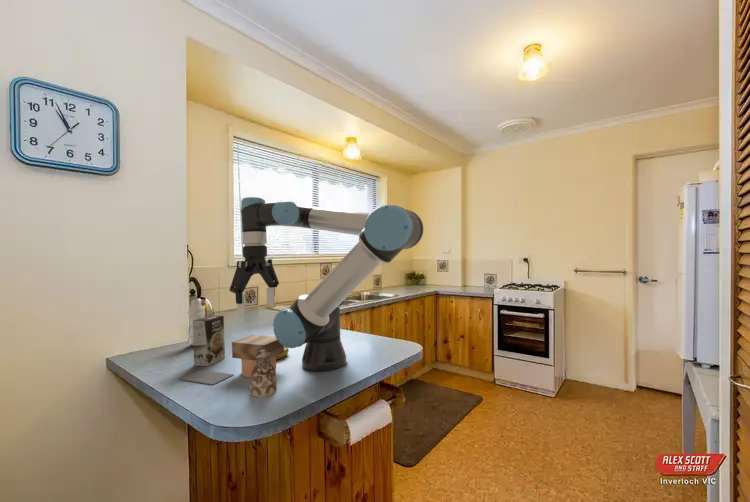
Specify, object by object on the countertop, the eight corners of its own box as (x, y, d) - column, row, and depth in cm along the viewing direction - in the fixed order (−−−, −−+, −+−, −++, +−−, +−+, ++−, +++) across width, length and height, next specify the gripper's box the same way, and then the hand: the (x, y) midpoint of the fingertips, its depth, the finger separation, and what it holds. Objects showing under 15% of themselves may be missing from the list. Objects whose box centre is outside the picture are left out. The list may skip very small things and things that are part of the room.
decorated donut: (250, 358, 124) (250, 347, 124) (279, 350, 132) (278, 340, 132) (264, 364, 116) (264, 353, 116) (294, 356, 124) (293, 345, 124)
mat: (233, 375, 107) (233, 374, 107) (212, 385, 99) (212, 384, 99) (201, 370, 112) (201, 369, 112) (179, 379, 104) (179, 378, 104)
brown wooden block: (284, 352, 111) (283, 337, 111) (264, 361, 102) (264, 345, 102) (253, 349, 116) (252, 334, 116) (232, 357, 107) (231, 342, 107)
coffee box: (209, 366, 116) (207, 320, 116) (193, 365, 117) (191, 320, 117) (226, 357, 125) (224, 315, 125) (211, 357, 126) (209, 315, 126)
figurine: (250, 399, 89) (249, 354, 89) (249, 389, 95) (247, 347, 95) (278, 393, 92) (276, 350, 92) (275, 384, 98) (273, 344, 98)
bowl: (282, 367, 112) (281, 351, 112) (260, 379, 102) (260, 361, 102) (257, 364, 116) (257, 348, 116) (234, 375, 106) (234, 358, 106)
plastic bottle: (185, 347, 141) (183, 300, 141) (196, 342, 148) (194, 298, 148) (199, 347, 140) (197, 300, 140) (209, 343, 147) (207, 297, 147)
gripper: (270, 245, 122) (272, 303, 122) (215, 245, 99) (217, 317, 99) (287, 244, 119) (289, 303, 119) (234, 244, 96) (237, 318, 96)
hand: (257, 310), depth 109 cm, fingers open, 13 cm apart
